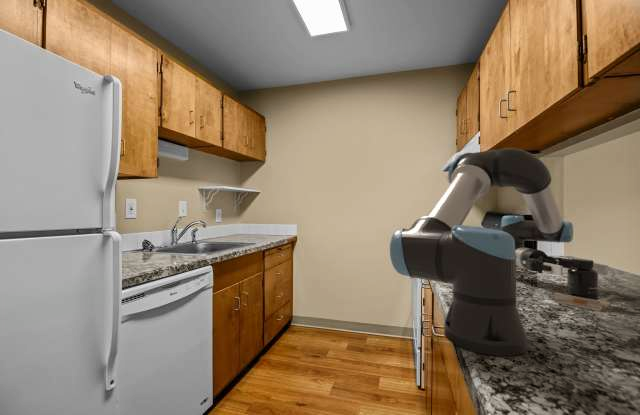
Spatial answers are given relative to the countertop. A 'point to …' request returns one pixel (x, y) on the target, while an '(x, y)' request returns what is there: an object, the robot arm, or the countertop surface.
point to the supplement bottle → (582, 279)
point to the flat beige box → (581, 302)
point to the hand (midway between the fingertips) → (584, 270)
